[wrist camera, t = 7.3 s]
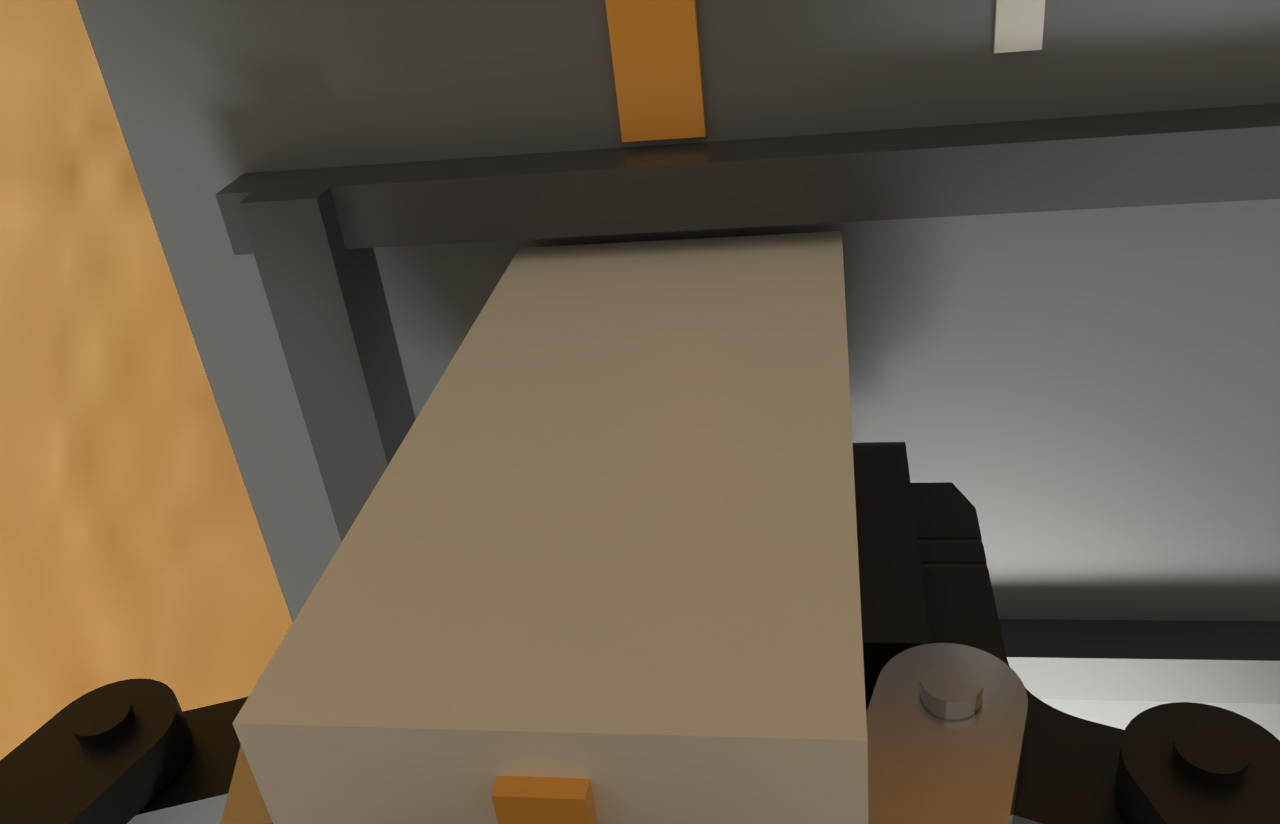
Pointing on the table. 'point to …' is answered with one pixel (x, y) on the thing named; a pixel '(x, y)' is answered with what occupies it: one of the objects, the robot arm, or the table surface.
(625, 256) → the block
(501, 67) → the console
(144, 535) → the table surface
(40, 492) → the table surface
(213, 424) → the table surface
